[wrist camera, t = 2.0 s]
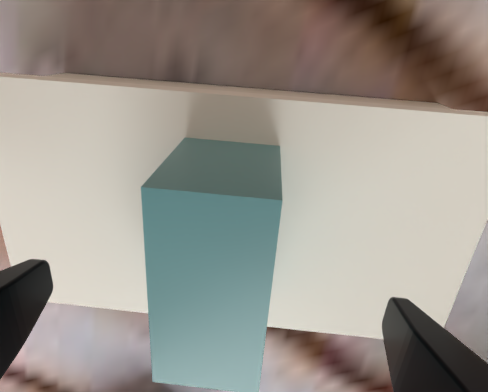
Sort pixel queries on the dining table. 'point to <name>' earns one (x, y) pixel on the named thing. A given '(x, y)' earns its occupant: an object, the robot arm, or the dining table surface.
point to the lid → (238, 211)
